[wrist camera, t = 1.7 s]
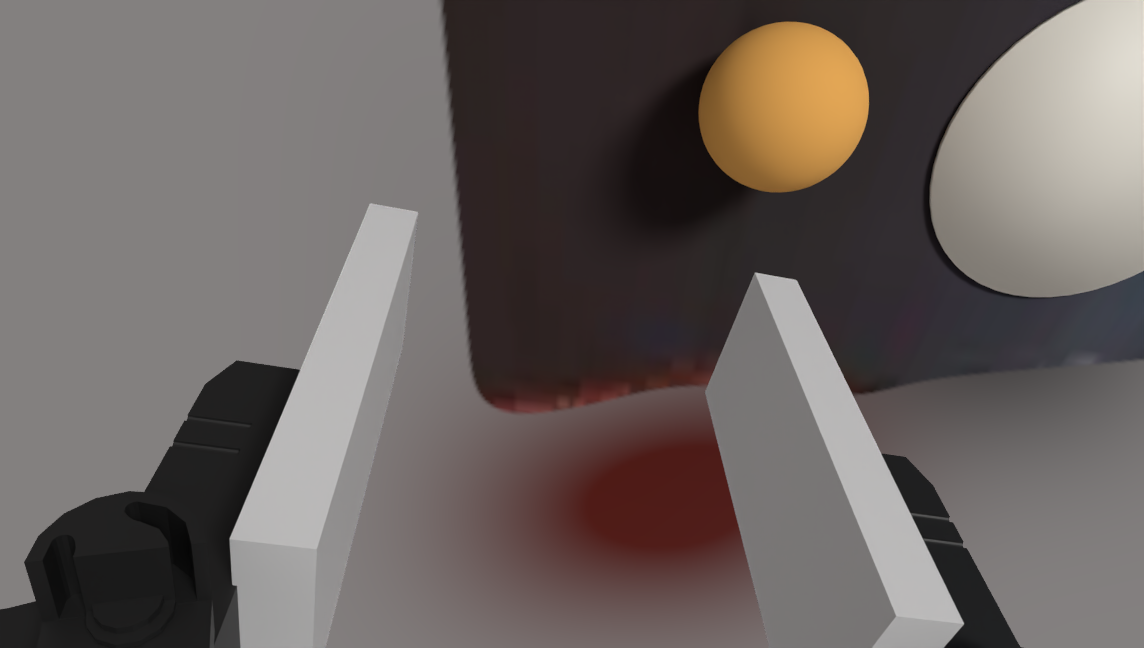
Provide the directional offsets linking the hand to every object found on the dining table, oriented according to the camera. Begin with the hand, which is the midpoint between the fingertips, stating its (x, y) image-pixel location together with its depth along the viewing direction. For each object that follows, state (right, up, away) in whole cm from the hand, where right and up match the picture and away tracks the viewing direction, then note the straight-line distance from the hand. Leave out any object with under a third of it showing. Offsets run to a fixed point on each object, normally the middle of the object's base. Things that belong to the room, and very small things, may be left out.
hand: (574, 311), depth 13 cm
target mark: (+21, +6, +17) cm, 27 cm away
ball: (+7, +7, +13) cm, 16 cm away
